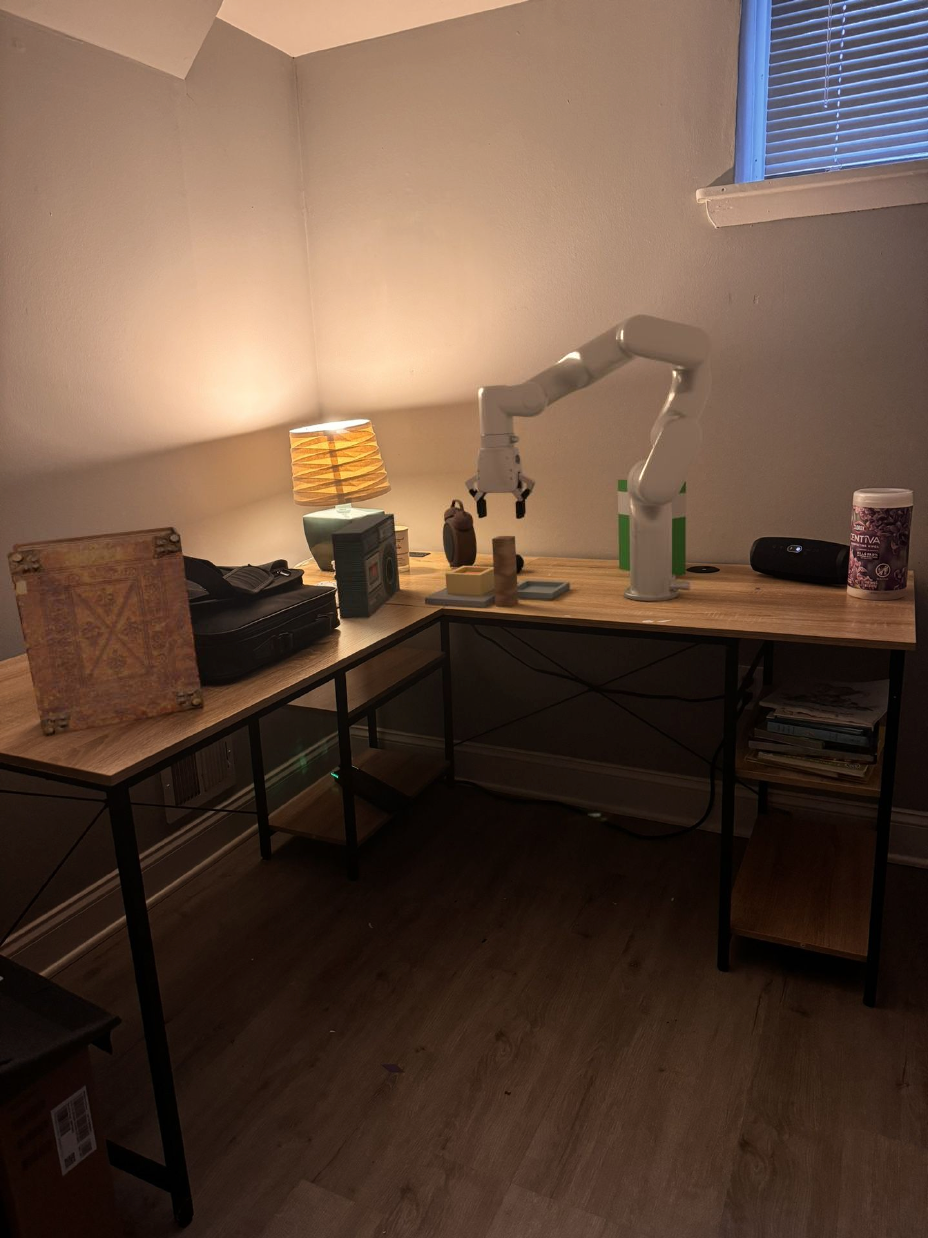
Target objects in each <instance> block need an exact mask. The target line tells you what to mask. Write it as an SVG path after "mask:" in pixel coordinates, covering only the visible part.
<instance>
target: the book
mask: <svg viewBox="0 0 928 1238" xmlns="http://www.w3.org/2000/svg"><path fill="white" fill-rule="evenodd" d="M7 561H8V567H9V572H10V575H11V580H12V587H13V592H14V596H15V601H16V606H17V611H18V616H19V621H20V625H21V630H22V636H23V641H24V646H25V650H26V656H27V660H28V665H29V670H30V671H29V672H30V675H31V680H32V686H33V691H34V695H35V699H36V705H37V711H38V714H39V720H40V725H41V730H42V735H43V736H44V737H50V736H51V737H52V736H56V735H57V736H58V735H63V734H68V733H73V732H78V731H82V730H83V731H84V730H89V729H94V728H100V727H105V726H111V725H116V724H121V723H126V722H131V721H138V720H142V719H147V718H148V719H149V718H152V717H153V718H154V717H159V716H165V715H169V714H174V713H179V712H184V711H190V710H196V709H201V708H204V707H205V702H204V696H203V695H204V694H203V688H202V687H203V686H202V681H201V680H202V679H201V675H200V666H199V660H198V652H197V645H196V639H195V638H196V637H195V631H194V625H193V616H192V610H191V604H190V597H189V591H188V590H189V589H188V582H187V577H186V576H187V575H186V569H185V562H184V561H185V560H184V554H183V546H182V540H181V534H180V533H179V531H178V529H176V527H174V526H168V527H159V528H157V527H156V528H150V529H139V530H133V531H122V532H113V533H103V534H94V535H93V534H92V535H86V536H85V535H83V536H76V537H66V538H57V539H47V540H39V541H38V540H37V541H29V542H19V543H15V544H13V546H12V551H8V553H7Z"/></svg>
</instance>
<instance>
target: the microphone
mask: <svg viewBox="0 0 928 1238" xmlns="http://www.w3.org/2000/svg"><path fill="white" fill-rule="evenodd" d="M524 566H525V561H524V557H522V556H521V555H520V554H517V553H516V568H517V574H518V573H520V572H521V571H523V570H522V569H523V568H524Z"/></svg>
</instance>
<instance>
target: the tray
mask: <svg viewBox="0 0 928 1238" xmlns="http://www.w3.org/2000/svg"><path fill="white" fill-rule="evenodd" d="M570 583H571V582H569V581H553V580H535V579H534V580H533V579H532V580H530V579H525V580H522V581H521V582H518V584H517V589H518V600H519V599H521V600H533V601H535V600H539V601H551V602H552V601H554V600H556V599H557V598H559V597H560V596H562V595H563V594H564V593H566V592H567V591H570V589H571V584H570Z"/></svg>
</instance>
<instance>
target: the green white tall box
mask: <svg viewBox="0 0 928 1238" xmlns="http://www.w3.org/2000/svg"><path fill="white" fill-rule="evenodd" d="M627 481H628V479H617V505H618V507H617V508H618V509H617V511H618V513H617V515H618V517H617V518H618V520H617V521H618V523H617V524H618V567H619V568H618V569H619V570H624V571H627V572H630V514H629V500H628V490H627ZM671 510H672V575H675V577H679V576H685V575H686V572H687V571H686V567H687V566H686V560H687V559H686V558H687V557H686V556H687V555H686V554H687V553H686V548H687V547H686V545H687V544H686V543H687V542H686V541H687V539H686V537H687V536H686V534H687V529H686V526H687V525H686V523H687V521H686V519H687V512H686V511H687V481H686V480H685V482H684V484H683V486H682V488H681V490H680V492H679V494H678V495H677V496H676V498H675V499H674V500H673V501H671Z"/></svg>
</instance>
